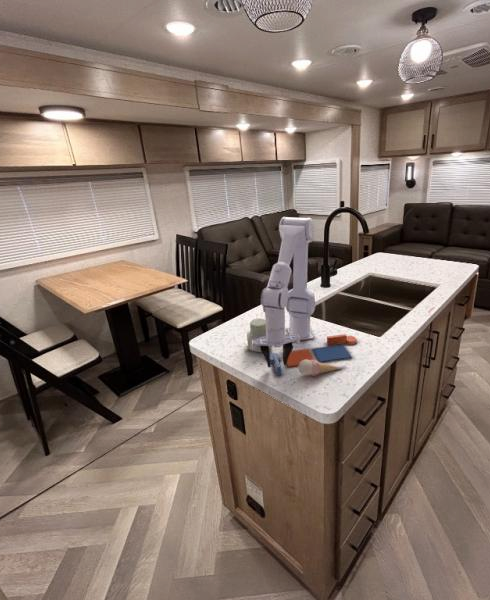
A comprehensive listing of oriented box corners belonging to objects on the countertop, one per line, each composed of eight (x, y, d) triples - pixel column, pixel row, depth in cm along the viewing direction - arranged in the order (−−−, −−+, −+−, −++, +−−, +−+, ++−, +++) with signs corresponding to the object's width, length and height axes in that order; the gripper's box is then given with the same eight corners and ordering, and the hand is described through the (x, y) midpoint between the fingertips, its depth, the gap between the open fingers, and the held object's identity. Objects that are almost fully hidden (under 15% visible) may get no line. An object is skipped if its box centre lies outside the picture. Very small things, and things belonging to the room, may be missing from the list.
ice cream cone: (338, 365, 103) (294, 364, 98) (344, 357, 100) (299, 356, 95) (341, 378, 100) (297, 378, 95) (348, 371, 97) (302, 370, 92)
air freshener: (273, 354, 108) (272, 328, 104) (249, 357, 107) (247, 330, 103) (269, 338, 118) (268, 314, 114) (247, 340, 117) (245, 316, 113)
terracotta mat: (282, 353, 108) (282, 352, 108) (308, 350, 110) (308, 349, 110) (287, 367, 101) (287, 365, 101) (315, 363, 103) (315, 362, 103)
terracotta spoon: (329, 347, 112) (329, 340, 110) (325, 341, 115) (325, 334, 114) (358, 343, 114) (358, 336, 112) (353, 338, 117) (354, 331, 116)
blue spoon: (285, 374, 98) (285, 366, 97) (272, 376, 97) (272, 368, 96) (278, 355, 108) (278, 347, 106) (267, 357, 107) (266, 349, 106)
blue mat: (312, 349, 110) (312, 348, 110) (342, 345, 113) (342, 344, 112) (319, 362, 103) (319, 361, 103) (351, 358, 105) (351, 356, 105)
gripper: (252, 335, 90) (255, 375, 95) (302, 329, 92) (302, 368, 98) (249, 324, 96) (252, 362, 101) (296, 318, 99) (297, 356, 104)
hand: (276, 364), depth 100 cm, fingers open, 4 cm apart
